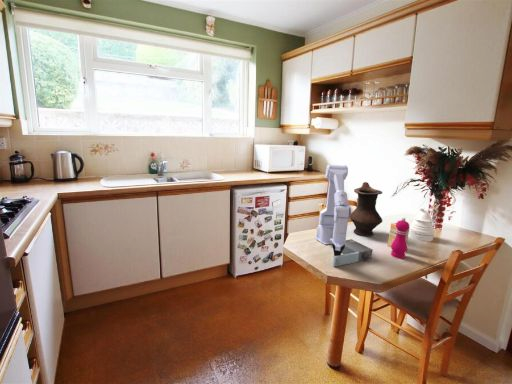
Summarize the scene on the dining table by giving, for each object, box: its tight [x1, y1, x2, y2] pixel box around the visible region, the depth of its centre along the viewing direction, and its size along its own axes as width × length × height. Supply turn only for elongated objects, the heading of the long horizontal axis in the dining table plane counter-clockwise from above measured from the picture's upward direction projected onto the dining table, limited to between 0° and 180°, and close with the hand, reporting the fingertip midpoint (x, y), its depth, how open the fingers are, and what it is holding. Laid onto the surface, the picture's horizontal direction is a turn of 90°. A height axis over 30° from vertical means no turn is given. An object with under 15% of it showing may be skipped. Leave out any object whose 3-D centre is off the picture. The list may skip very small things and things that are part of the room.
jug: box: [349, 181, 383, 237], centre depth 172 cm, size 21×18×30 cm
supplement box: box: [387, 222, 410, 248], centre depth 153 cm, size 8×5×13 cm, turn 21°
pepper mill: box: [390, 217, 410, 259], centre depth 142 cm, size 7×7×20 cm
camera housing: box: [341, 239, 373, 262], centre depth 143 cm, size 15×10×5 cm, turn 27°
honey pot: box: [408, 207, 435, 243], centre depth 170 cm, size 13×13×18 cm
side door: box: [332, 252, 359, 267], centre depth 132 cm, size 14×2×4 cm, turn 115°
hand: (336, 259), depth 133 cm, fingers closed
